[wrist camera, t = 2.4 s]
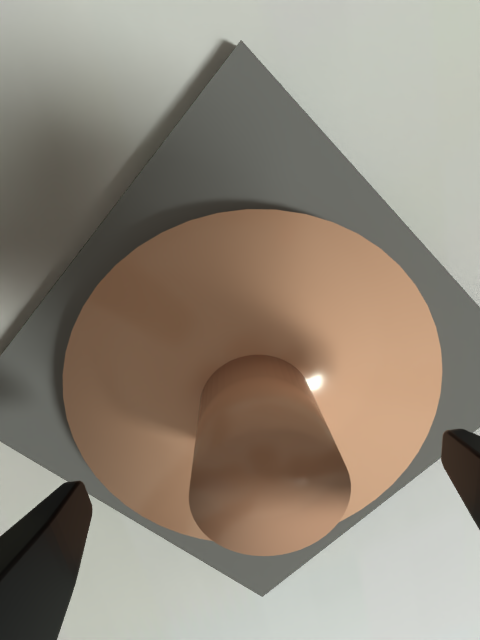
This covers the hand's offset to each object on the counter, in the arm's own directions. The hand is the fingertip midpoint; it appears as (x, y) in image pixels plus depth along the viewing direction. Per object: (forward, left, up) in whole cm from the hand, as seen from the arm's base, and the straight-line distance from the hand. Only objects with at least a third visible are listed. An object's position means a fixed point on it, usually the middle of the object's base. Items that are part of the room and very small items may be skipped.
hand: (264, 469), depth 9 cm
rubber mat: (0, 0, -4) cm, 4 cm away
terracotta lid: (0, 0, -3) cm, 3 cm away
